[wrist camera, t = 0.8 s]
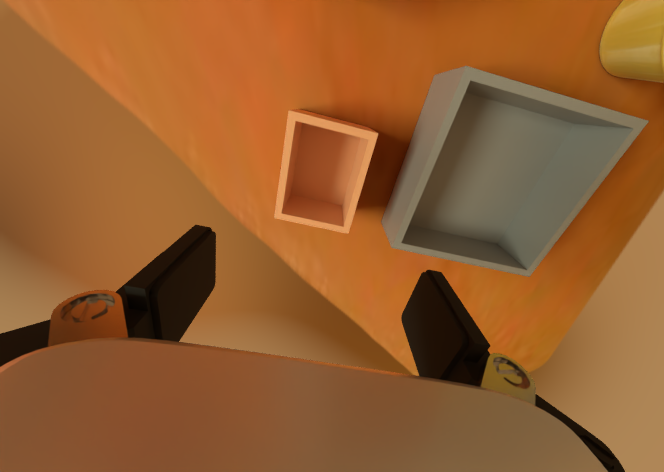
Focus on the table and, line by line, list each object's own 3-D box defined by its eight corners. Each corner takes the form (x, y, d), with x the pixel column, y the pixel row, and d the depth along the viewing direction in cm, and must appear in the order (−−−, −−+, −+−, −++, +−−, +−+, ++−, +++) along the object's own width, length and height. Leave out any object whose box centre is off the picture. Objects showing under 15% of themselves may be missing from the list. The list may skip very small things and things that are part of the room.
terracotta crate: (298, 108, 24) (288, 110, 18) (368, 127, 24) (378, 133, 19) (285, 196, 28) (274, 218, 22) (345, 209, 28) (348, 233, 23)
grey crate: (434, 75, 22) (466, 65, 17) (578, 117, 24) (648, 121, 18) (381, 221, 29) (391, 247, 24) (495, 247, 31) (529, 276, 25)
